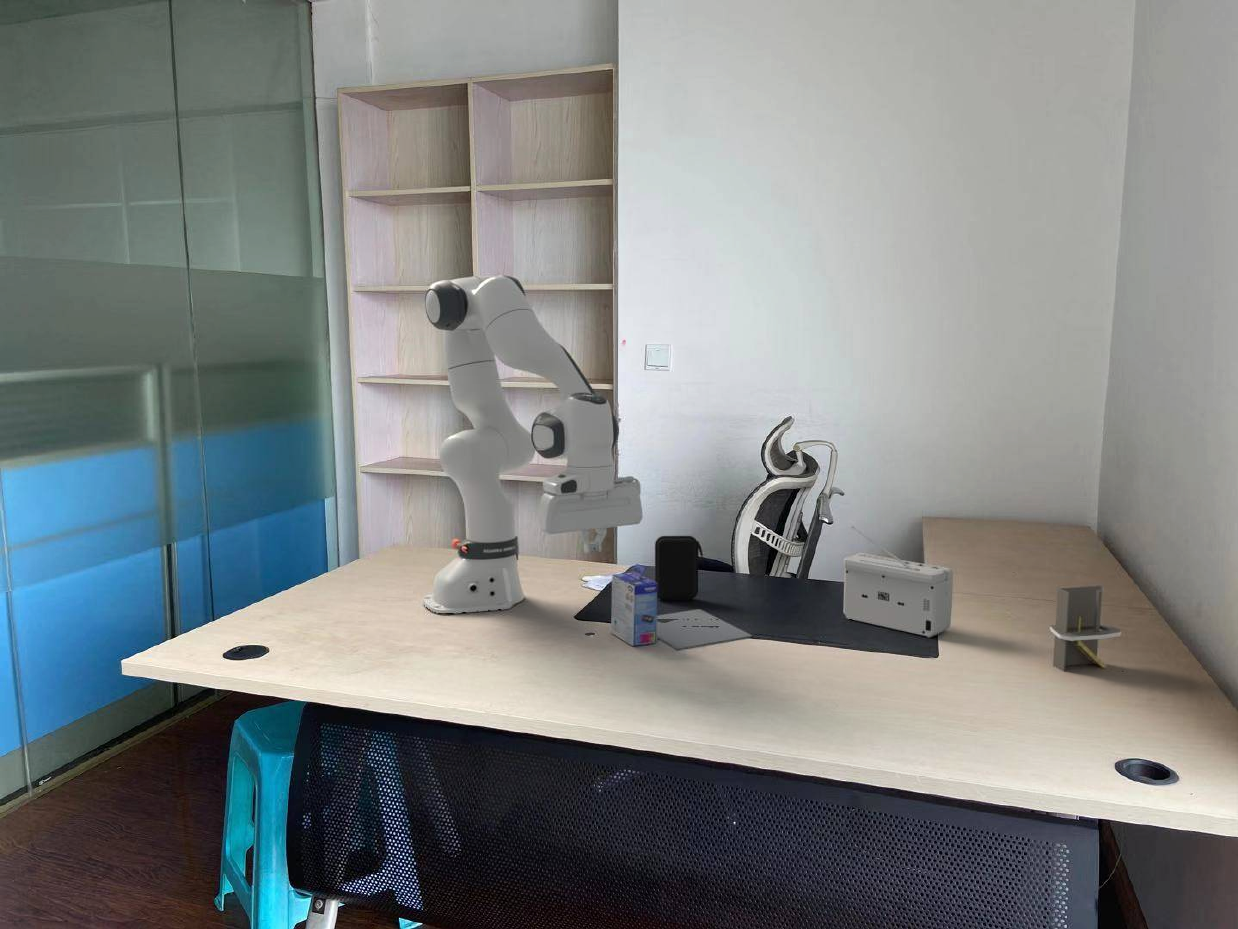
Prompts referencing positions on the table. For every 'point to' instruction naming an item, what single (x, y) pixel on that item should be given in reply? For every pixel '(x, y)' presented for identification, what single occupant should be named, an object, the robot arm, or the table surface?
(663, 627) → the mat
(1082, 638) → the architectural model
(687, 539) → the carrying case or bag
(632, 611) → the ink cartridge box
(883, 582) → the stereo radio cassette player
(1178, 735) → the table surface
